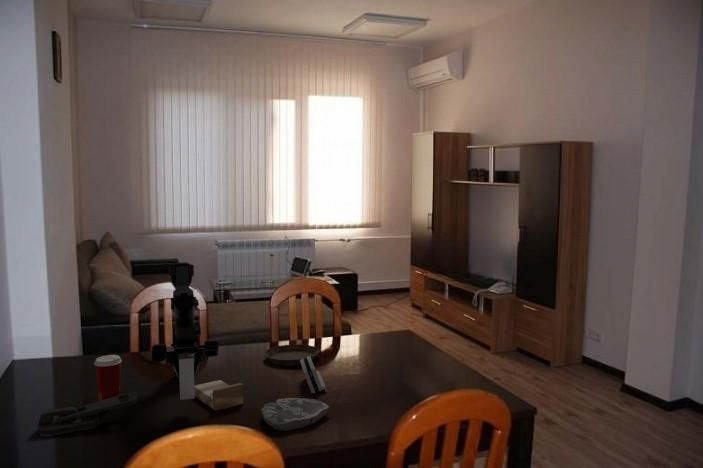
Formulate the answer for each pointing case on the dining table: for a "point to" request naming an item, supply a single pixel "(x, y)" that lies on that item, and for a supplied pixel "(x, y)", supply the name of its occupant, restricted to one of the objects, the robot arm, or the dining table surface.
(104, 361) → the paper cup
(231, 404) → the block
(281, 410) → the brain slice
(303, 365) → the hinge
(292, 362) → the plant saucer
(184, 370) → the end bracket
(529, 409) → the dining table surface
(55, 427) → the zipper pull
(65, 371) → the dining table surface
